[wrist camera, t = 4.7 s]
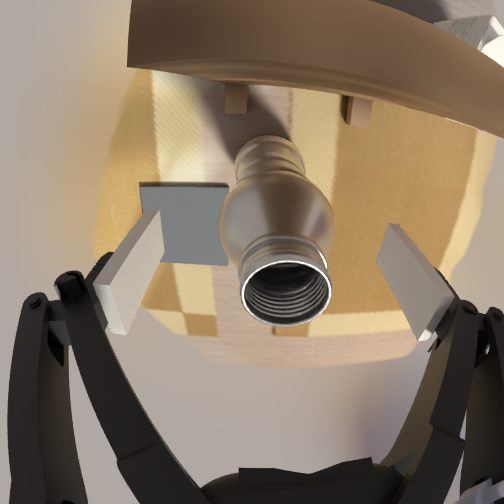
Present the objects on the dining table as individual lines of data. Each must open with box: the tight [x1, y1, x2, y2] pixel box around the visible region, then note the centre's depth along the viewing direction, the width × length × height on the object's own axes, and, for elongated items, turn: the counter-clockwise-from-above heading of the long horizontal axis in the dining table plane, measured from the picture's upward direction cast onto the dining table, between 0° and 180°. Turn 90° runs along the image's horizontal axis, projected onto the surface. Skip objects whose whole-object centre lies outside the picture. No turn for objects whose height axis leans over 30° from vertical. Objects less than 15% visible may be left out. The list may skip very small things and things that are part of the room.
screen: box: [127, 0, 504, 139], centre depth 13 cm, size 8×14×22 cm, turn 87°
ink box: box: [430, 15, 504, 139], centre depth 14 cm, size 9×8×13 cm
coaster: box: [140, 186, 229, 266], centre depth 31 cm, size 10×10×1 cm
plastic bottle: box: [218, 135, 335, 327], centre depth 19 cm, size 6×7×20 cm
